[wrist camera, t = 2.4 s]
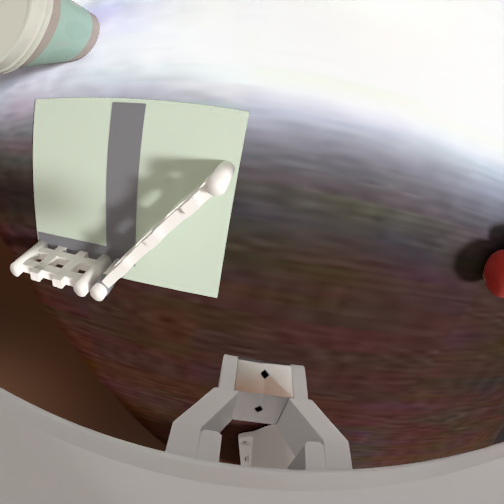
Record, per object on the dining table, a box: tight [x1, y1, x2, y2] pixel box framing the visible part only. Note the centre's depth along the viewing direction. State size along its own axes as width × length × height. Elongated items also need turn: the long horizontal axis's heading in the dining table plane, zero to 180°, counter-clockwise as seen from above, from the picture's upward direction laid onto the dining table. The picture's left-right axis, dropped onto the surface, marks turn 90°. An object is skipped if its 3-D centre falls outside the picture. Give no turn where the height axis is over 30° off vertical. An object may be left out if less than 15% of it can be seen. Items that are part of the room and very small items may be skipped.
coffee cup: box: [0, 0, 99, 74], centre depth 17 cm, size 8×8×12 cm
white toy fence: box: [90, 161, 235, 301], centre depth 28 cm, size 18×2×6 cm, turn 130°
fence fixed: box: [10, 240, 112, 297], centre depth 30 cm, size 11×2×6 cm, turn 80°
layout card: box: [33, 98, 249, 298], centre depth 30 cm, size 20×24×1 cm
